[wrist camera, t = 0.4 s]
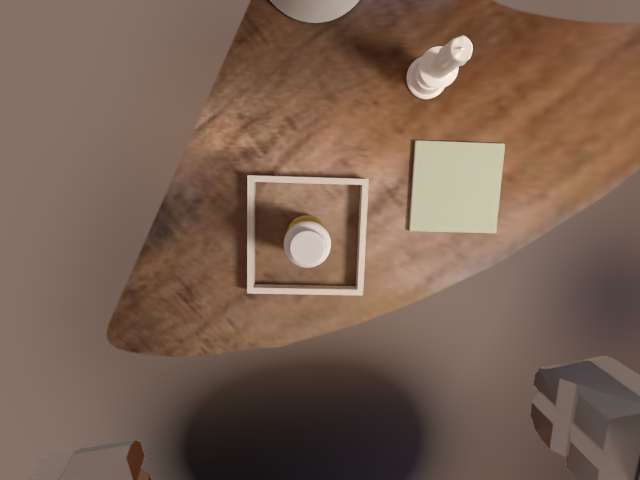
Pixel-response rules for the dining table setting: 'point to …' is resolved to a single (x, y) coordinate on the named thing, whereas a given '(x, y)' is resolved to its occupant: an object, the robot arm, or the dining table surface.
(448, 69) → the candle
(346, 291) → the white square frame
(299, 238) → the supplement bottle
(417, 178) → the mat
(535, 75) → the dining table surface
